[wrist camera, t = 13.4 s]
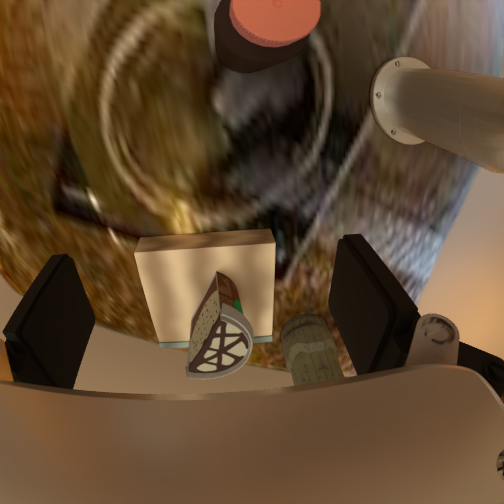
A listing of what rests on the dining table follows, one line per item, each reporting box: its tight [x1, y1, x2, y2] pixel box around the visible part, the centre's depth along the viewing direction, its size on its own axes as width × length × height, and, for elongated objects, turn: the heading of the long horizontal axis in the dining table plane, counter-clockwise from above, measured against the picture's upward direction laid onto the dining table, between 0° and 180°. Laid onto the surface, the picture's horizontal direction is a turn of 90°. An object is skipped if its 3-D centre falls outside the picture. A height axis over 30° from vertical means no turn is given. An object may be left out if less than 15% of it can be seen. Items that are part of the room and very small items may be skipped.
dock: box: [134, 229, 276, 348], centre depth 44 cm, size 18×18×4 cm
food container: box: [186, 271, 254, 379], centre depth 38 cm, size 12×6×10 cm, turn 153°
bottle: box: [214, 0, 321, 73], centre depth 20 cm, size 7×7×20 cm
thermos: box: [280, 314, 344, 386], centre depth 38 cm, size 9×12×35 cm
